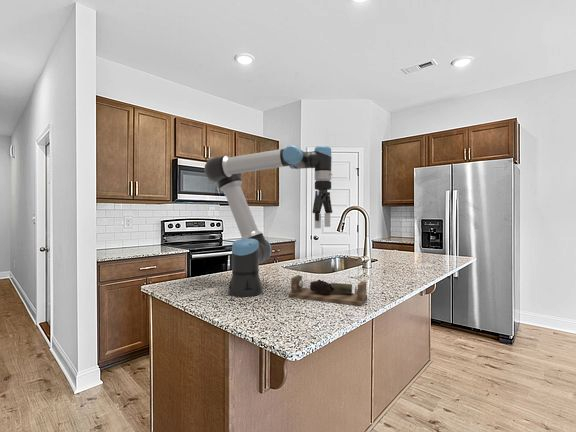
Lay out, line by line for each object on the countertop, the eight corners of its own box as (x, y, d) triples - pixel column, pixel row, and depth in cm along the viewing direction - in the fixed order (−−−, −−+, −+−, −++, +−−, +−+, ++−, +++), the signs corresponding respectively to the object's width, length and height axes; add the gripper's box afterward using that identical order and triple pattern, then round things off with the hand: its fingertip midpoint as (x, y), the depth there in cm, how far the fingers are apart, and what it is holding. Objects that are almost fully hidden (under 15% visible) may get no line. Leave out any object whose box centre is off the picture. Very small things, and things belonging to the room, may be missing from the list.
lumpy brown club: (352, 293, 138) (352, 279, 137) (352, 297, 131) (352, 283, 131) (310, 290, 141) (310, 277, 141) (308, 294, 135) (308, 281, 134)
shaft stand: (288, 297, 136) (288, 279, 136) (299, 290, 147) (299, 274, 147) (361, 306, 124) (361, 286, 124) (367, 298, 135) (367, 280, 134)
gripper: (321, 178, 134) (321, 229, 134) (338, 182, 157) (338, 226, 157) (305, 178, 137) (305, 228, 138) (323, 183, 160) (323, 226, 160)
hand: (322, 227), depth 147 cm, fingers open, 13 cm apart
